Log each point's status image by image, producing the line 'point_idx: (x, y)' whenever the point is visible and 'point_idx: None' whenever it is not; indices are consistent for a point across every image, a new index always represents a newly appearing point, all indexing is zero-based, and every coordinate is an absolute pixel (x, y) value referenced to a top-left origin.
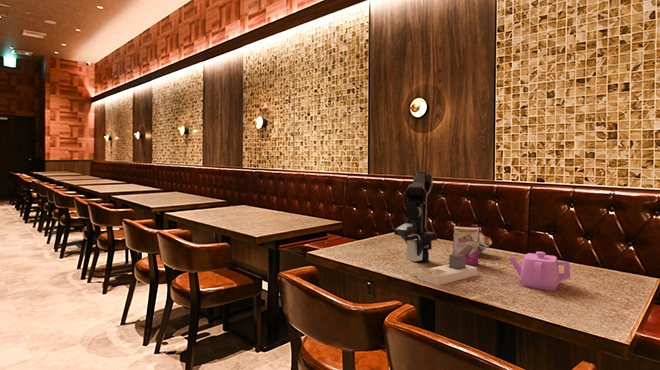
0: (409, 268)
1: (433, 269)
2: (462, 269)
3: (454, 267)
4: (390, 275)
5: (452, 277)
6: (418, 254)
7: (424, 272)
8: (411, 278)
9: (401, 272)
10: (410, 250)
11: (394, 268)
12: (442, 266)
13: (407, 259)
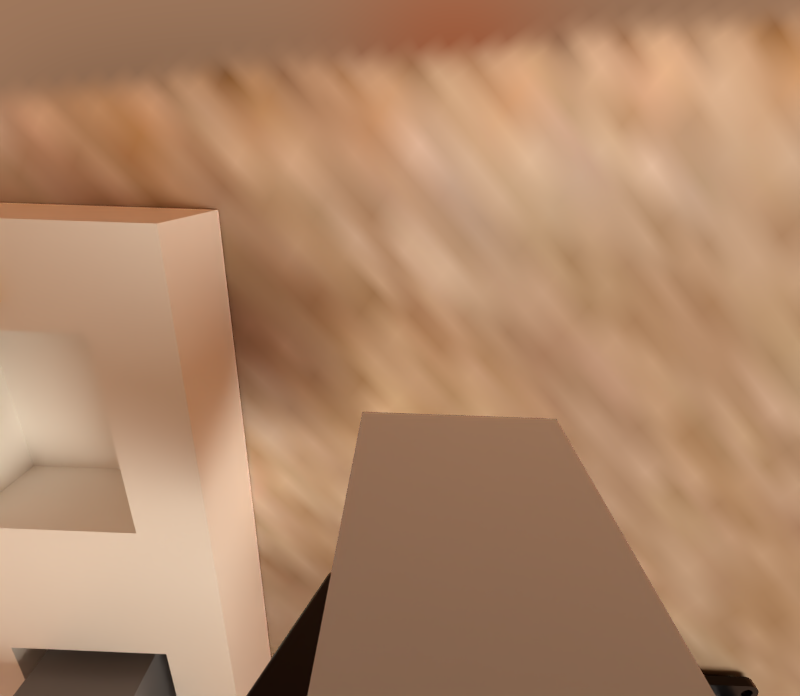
0: (605, 497)
1: (131, 477)
2: (9, 682)
3: (71, 674)
4: (592, 57)
5: None
6: (316, 597)
7: (38, 256)
8: (308, 205)
9: (572, 309)
10: (487, 587)
11: (745, 372)
12: (196, 636)
13: (535, 421)
